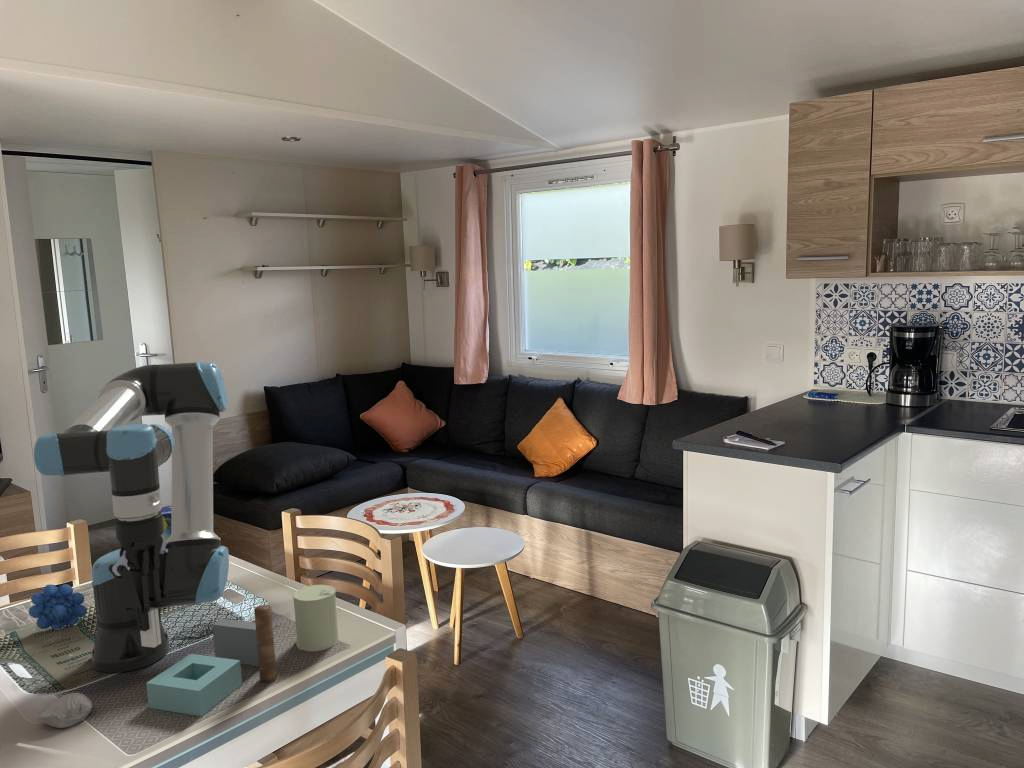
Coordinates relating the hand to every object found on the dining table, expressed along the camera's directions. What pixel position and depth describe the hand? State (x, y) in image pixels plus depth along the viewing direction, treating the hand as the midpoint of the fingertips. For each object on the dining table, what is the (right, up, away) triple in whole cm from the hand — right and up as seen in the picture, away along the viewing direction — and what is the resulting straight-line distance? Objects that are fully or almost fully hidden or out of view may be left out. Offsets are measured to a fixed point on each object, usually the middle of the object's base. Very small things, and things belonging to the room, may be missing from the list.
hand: (151, 644), depth 137 cm
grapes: (-42, -13, +44) cm, 62 cm away
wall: (+7, -13, +28) cm, 31 cm away
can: (+21, -11, +35) cm, 42 cm away
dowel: (+15, -13, +20) cm, 28 cm away
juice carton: (-25, -10, +60) cm, 66 cm away
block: (+2, -15, +14) cm, 20 cm away
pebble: (-19, -17, +7) cm, 26 cm away
